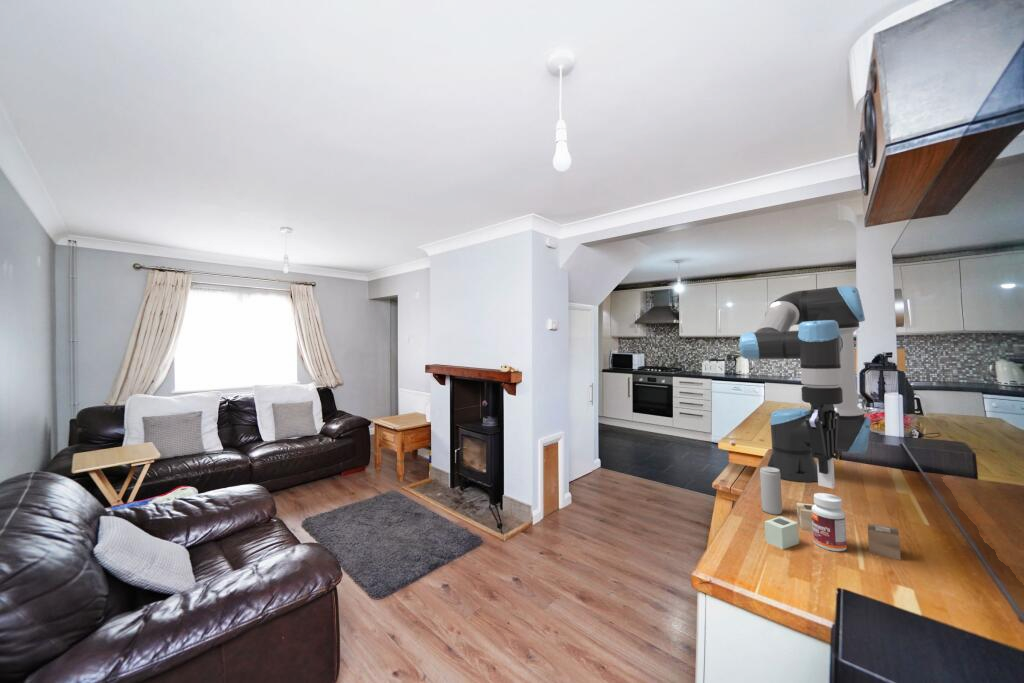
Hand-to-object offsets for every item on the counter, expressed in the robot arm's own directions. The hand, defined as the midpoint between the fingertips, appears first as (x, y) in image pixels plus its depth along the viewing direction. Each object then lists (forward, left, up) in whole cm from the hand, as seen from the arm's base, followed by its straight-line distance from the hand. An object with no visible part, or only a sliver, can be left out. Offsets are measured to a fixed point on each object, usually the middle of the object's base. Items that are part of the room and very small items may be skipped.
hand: (826, 486), depth 90 cm
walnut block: (-6, +8, -14) cm, 17 cm away
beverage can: (-9, -16, -14) cm, 23 cm away
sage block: (+7, -7, -14) cm, 17 cm away
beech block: (-7, -6, -14) cm, 17 cm away
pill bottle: (0, 0, -14) cm, 14 cm away
